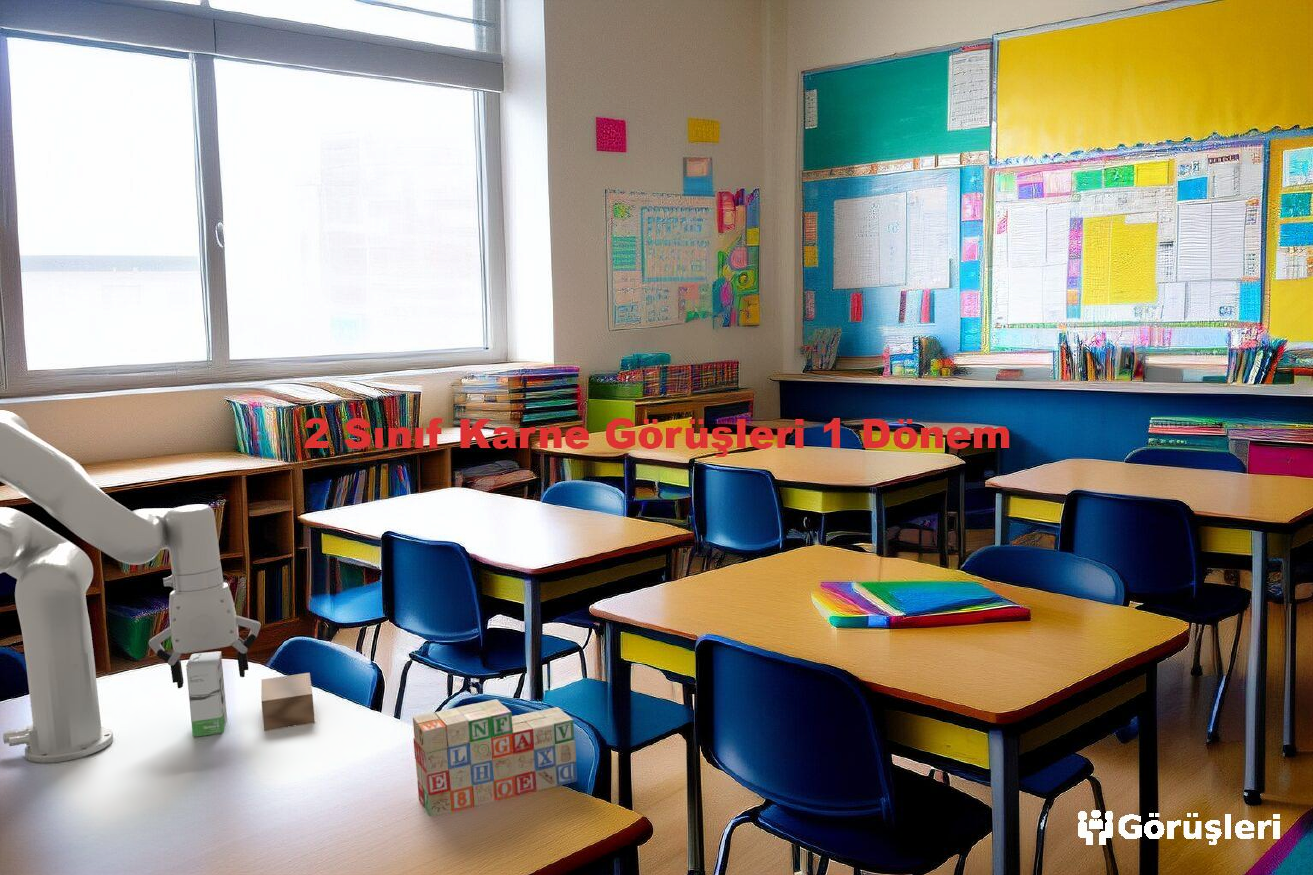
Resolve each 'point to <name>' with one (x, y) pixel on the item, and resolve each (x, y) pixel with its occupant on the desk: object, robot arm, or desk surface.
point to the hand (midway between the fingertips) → (211, 680)
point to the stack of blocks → (490, 754)
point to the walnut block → (287, 701)
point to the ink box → (206, 693)
